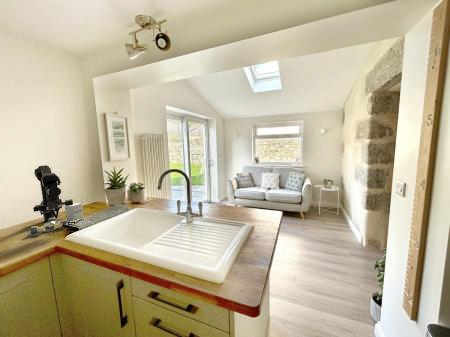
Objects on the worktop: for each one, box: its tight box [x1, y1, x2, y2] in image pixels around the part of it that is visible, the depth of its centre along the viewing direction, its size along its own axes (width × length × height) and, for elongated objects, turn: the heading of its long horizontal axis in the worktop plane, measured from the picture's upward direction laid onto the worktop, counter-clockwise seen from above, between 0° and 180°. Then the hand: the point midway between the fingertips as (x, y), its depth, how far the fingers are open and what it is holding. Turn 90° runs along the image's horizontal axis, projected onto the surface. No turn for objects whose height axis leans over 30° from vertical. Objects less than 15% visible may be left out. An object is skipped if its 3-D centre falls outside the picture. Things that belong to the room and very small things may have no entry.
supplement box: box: [64, 202, 85, 222], centre depth 143 cm, size 7×7×13 cm
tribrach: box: [27, 221, 68, 238], centre depth 133 cm, size 19×22×5 cm
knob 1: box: [29, 225, 45, 233], centre depth 124 cm, size 8×4×3 cm, turn 92°
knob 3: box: [54, 219, 69, 229], centre depth 130 cm, size 8×4×3 cm, turn 162°
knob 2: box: [48, 216, 64, 222], centre depth 139 cm, size 8×4×3 cm, turn 127°
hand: (56, 218), depth 126 cm, fingers closed
